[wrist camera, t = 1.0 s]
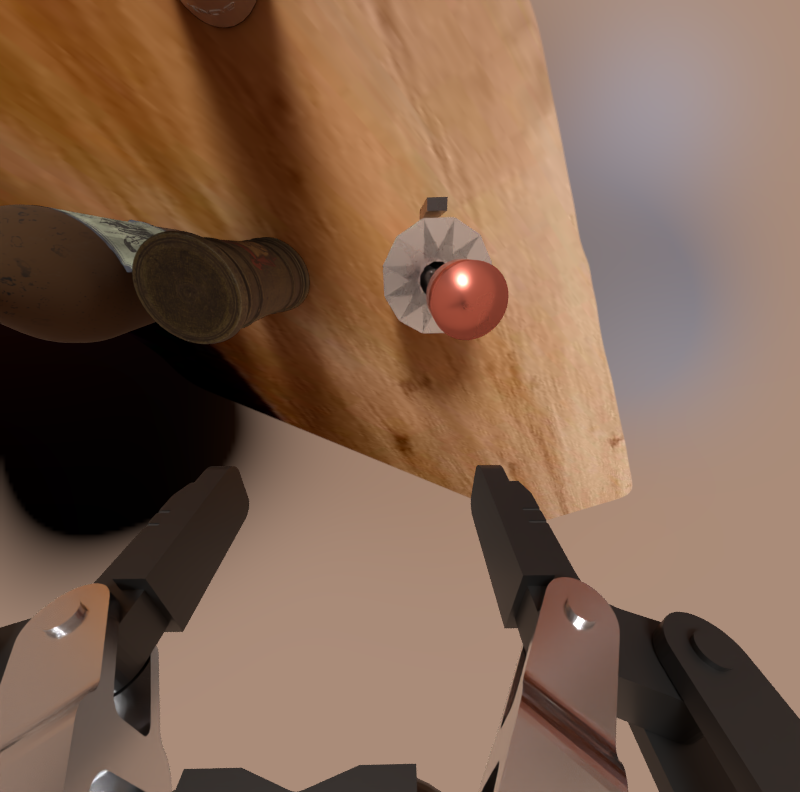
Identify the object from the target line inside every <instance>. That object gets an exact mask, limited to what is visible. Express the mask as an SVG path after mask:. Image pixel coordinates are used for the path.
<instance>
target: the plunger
mask: <svg viewBox="0 0 800 792" xmlns="http://www.w3.org/2000/svg"><path fill="white" fill-rule="evenodd" d="M420 286H421V288H422V290H423V292H424V293H425V294H426V302H427V306H428V309H429V311H430V313H431V315H432V317H433V318H434V320H435V322H436V324H437V325H438V327H439V328H440V329H441V330H442V331H443V332H444V333H445V334H447V335H448V336H450V337H453V338H456V339H460V340H472V339H476V338H479V337H481V336H484V335H485V334H487V333H489V332H490V331H491V330H492V329H494V328H495V327H496V326H497V324H498V323H499V322H500V320H501V319H502V317H503V315H504V313H505V311H506V308H507V304H508V287H507V284H506V281H505V279H504V277H503V275H502V274H501V272H500V271H499V270H498V269H497V268H496V267H494V266H493V265H491V264H489V263H487V262H484V261H480V260H471V259H455V260H451V261H449V262H447V263H443V262H442V261H436V262H432V263H430V264H429V265H427V266H426V267H425V268H424V270H423V271H422V273H421V275H420Z"/></svg>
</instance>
